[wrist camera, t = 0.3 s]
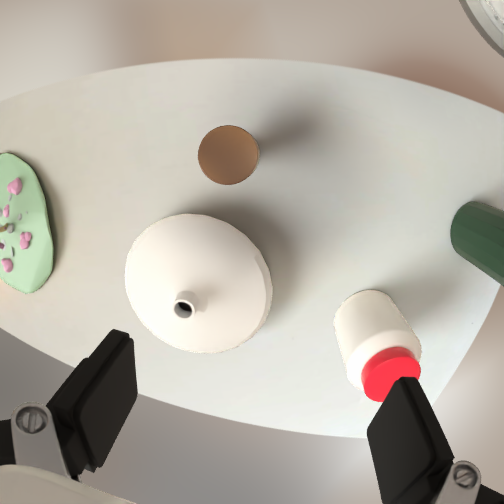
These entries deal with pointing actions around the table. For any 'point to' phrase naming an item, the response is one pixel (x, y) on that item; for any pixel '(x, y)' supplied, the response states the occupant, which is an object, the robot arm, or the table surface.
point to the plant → (23, 227)
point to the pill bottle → (376, 343)
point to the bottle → (480, 237)
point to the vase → (198, 283)
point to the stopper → (228, 155)
